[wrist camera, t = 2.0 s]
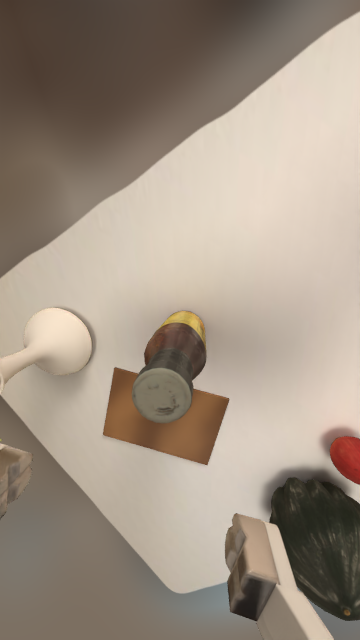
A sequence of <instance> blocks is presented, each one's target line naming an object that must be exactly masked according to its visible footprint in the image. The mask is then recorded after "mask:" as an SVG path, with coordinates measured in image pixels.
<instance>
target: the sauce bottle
mask: <svg viewBox="0 0 360 640" xmlns="http://www.w3.org/2000/svg"><path fill="white" fill-rule="evenodd" d="M144 358H145V365H146V366H145V367H144V368H143V369H142V370H141V371H140V373H139V374H138V376H137V378H136V380H135V381H134V383H133V387H132V400H133V403H134V406H135V407H136V408H137V410H138V411H139V413H140V414H141V415H142V416H143V417H145V418H146V419H148V420H151V421H153V422H156V423H170V422H173V421H176V420H178V419H180V418H181V417H182V416H184V415H185V414H186V412H187V411H188V409H189V408H190V406H191V402H192V396H193V383H192V380H193V379H194V378H195V377H196V376H197V375H198V374H200V372H201V371H202V370H203V368H204V366H205V363H206V342H205V329H204V325H203V323H202V321H201V320H200V318H199V317H198V316H196V315H195V314H193V313H192V312H187V311H180V312H176V313H174V314H173V315H171V316H170V317H169V318H168V319H167V320H166V321H165V322H164V323H163V324H162V325H161V327H160V328H159V329H158V330H157V331H156V332H155V333H154V335H153V337H152V338H151V339H150V341H149V342H148V344H147V346H146V349H145V353H144Z"/></svg>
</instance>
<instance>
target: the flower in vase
mask: <svg viewBox="0 0 360 640" xmlns="http://www.w3.org/2000/svg"><path fill="white" fill-rule="evenodd" d="M24 347H25V349H24V350H22V351H19V352H17V353H15V354H12V355H9V356H5V357H1V358H0V394H1V393H2V391H3V389H4V386H5V384H6V383H7V381H8V380H9V379H10V378H11V377H13V376H14V375H15V374H16V373H18V372H19V371H21V370H22V369H24V368H26V367H27V366H30V365H32V364H35V365H36V366H38V367H39V368H41V369H42V370H44V371H46V372H49V373H51V374H55V375H67V374H72V373H75V372H77V371H79V370H81V369H82V368H83V367H84V366H85V365H86V364H87V362H88V360H89V358H90V356H91V351H92V343H91V338H90V334H89V332H88V330H87V328H86V326H85V325H84V324H83V322H82V321H81V320H80V319H79V318H78V317H76V316H75V315H74V314H72V313H70V312H68V311H66V310H63V309H59V308H47V309H43V310H41V311H39V312H38V313H36V314H35V315H34V316H33V317H32V318H31V319H30V320H29V321H28V323H27V324H26V327H25V330H24ZM0 441H2V440H1V439H0Z"/></svg>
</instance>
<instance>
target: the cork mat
mask: <svg viewBox="0 0 360 640" xmlns="http://www.w3.org/2000/svg"><path fill="white" fill-rule="evenodd" d="M137 376H138V374H137V373H133V372H129V371H126V370H122V369H118V368H114V374H113V379H112V385H111V391H110V397H109V403H108V408H107V414H106V420H105V426H104V432H103V435H105V436H108V437H112V438H115V439H119V440H122V441H126V442H129V443H132V444H136V445H139V446H143V447H146V448H150V449H153V450H157V451H160V452H163V453H167V454H170V455H174V456H177V457H181V458H184V459H188V460H191V461H194V462H198V463H201V464H205V465H208V462H209V459H210V456H211V453H212V450H213V447H214V444H215V441H216V438H217V435H218V432H219V429H220V426H221V423H222V420H223V417H224V414H225V411H226V408H227V405H228V402H229V398H225V397H221V396H218V395H214V394H210V393H207V392H203V391H199V390H196V389H193V396H192V402H191V406H190V408H189V409H188V411H187V412H186V414H185V415H184V416H182V417H181V418H180V419H178V420H176V421H173V422H170V423H156V422H153V421H151V420H148V419H146V418H145V417H143V416H142V415H141V414H140V413H139V411H138V410H137V408H136V407H135V406H134V403H133V400H132V387H133V383H134V381H135V380H136V378H137Z"/></svg>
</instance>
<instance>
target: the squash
mask: <svg viewBox="0 0 360 640" xmlns="http://www.w3.org/2000/svg"><path fill="white" fill-rule="evenodd" d="M271 504H272V514H271V518H270V521H269V523H271V524H275V525H277V527H278V529H279V531H280V534H281V537H282V541H283V544H284V547H285V550H286V554H287V557H288V560H289V563H290V566H291V570H292V573H293V576H294V579H295V582H296V586H297V587H298V588H299V589H300V590H301V592H303V594H304V595H305V596H306V597H307V598H308V599H309V600H310V601H311V602H313V603H314V604H315V605H317V606H318V607H320V608H322V609H323V610H324V611H326V612H328V613H330V614H332V615H334V616H336V617H338V618H340V619H343V620H345V621H352V620H360V504H359V503H358V502H357V501H355V500H354V499H352V498H351V497H349V496H347V495H346V494H345V493H344V492H343V491H342V490H341V489H340V488H339V487H338V486H336V485H334V484H332V483H330V482H322V483H320V482H318V481H316V480H313V479H311V480H308V481H307V482H306V483H304V482H302V481H301V480H299V479H297V478H289V479H288V480H287V481H286V484H285V487H279V488H277V489H276V491H275V492H274V494H273V496H272V501H271Z"/></svg>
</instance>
